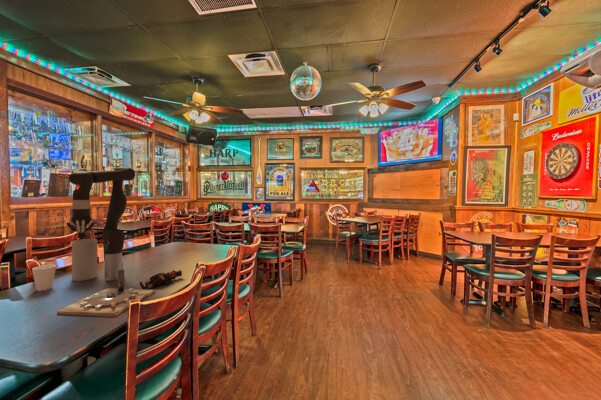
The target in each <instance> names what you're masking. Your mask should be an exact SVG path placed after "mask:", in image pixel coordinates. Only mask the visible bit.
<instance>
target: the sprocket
mask: <svg viewBox="0 0 601 400" xmlns="http://www.w3.org/2000/svg"><path fill="white" fill-rule="evenodd" d="M117 288H118V290H113V291H111V290H106V292H103V293H98V292H96V293H93V294H92V295H93V296H92V297H89V296H88V297H89V298H87V297H84V298H83V299H82V300H83V302H81V303H80V306H84V305H86V306H84V309H88V308H91V307H95V310H96V309H101V308H102V307H106V306H111V305H114V304H115V306H116V304H119V303H122V302H124V303H127V302H129V299H130V298H136V297H137V294H138V290H136V291H134V289H135V288H133V287H132V288H131V287H130V288H127V289H128V290H124V289H125V269H123V270H118V279H117ZM84 301H86V302H84Z"/></svg>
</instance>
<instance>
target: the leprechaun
mask: <svg viewBox="0 0 601 400" xmlns="http://www.w3.org/2000/svg"><path fill="white" fill-rule="evenodd" d="M182 275H183V272H182V270H181V269H180V270H177V271H176V270H174V269H173V270H171V271H167V272H166V273H165V272H159V273H157V274H154V275H152V276H150V277H149V280H146V281H145V282H144V284H143V281H140V282H139V287H141V288H140V289H147V290H150V289H151V288H154V287H158V286H160V285H166V286H169V285H171V283H172V282H173V280H176V278H179V277H182Z"/></svg>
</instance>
